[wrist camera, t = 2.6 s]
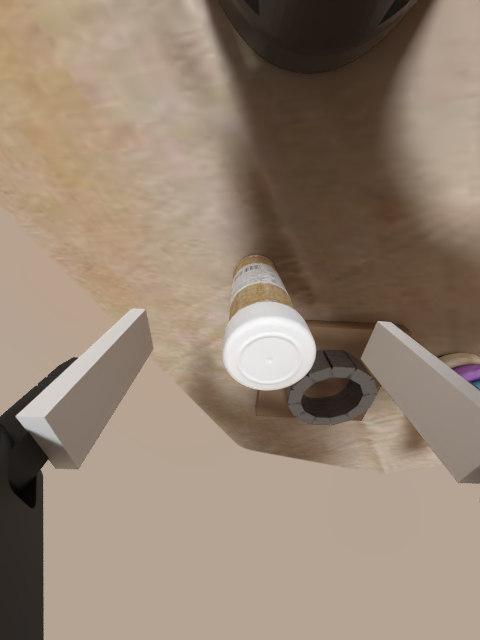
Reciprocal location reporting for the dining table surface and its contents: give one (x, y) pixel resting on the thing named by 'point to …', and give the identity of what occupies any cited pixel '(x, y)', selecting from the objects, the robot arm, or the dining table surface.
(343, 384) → the base board
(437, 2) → the dining table surface
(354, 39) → the robot arm
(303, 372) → the sprinkles bottle
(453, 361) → the stacking toy
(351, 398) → the collar
